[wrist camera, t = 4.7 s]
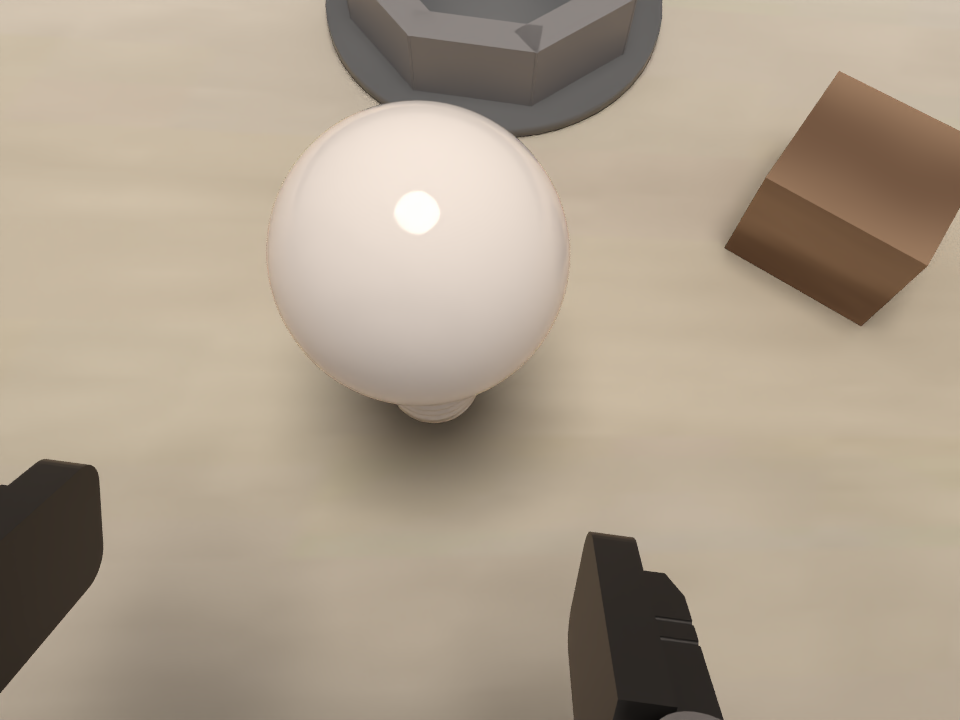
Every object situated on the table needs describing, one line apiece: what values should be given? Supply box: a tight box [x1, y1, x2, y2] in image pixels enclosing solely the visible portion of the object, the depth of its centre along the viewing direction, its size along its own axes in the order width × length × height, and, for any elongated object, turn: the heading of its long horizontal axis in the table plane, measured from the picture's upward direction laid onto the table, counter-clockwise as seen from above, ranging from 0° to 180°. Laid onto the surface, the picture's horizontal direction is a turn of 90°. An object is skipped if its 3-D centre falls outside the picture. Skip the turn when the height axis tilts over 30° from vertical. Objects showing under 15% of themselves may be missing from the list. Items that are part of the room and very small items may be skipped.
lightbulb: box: [266, 100, 570, 423], centre depth 18 cm, size 6×6×11 cm
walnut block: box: [725, 71, 960, 326], centre depth 24 cm, size 5×5×4 cm
